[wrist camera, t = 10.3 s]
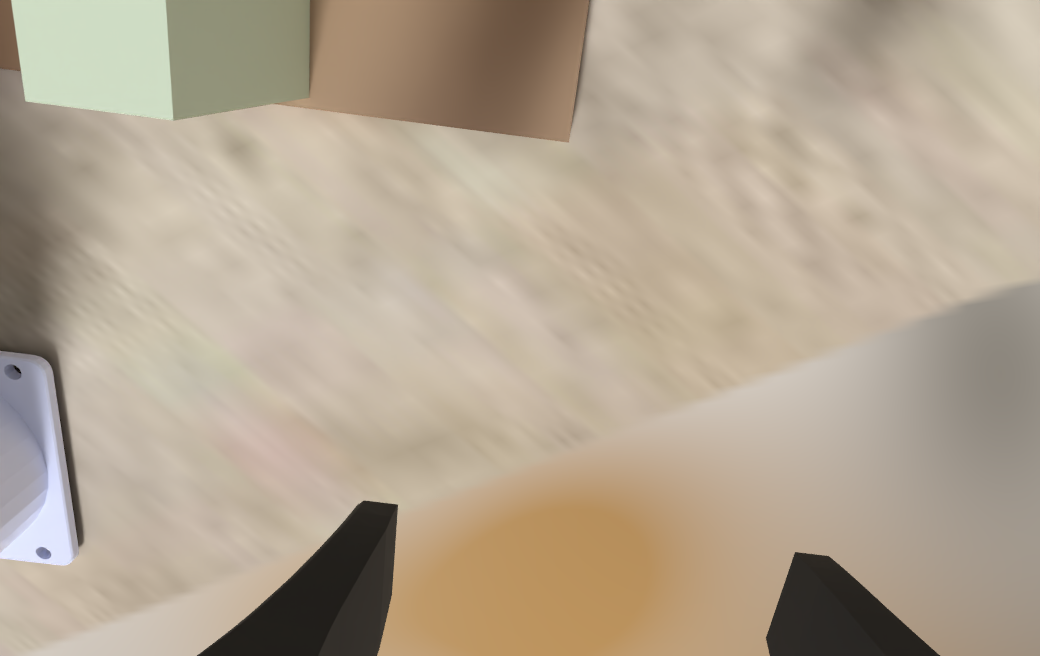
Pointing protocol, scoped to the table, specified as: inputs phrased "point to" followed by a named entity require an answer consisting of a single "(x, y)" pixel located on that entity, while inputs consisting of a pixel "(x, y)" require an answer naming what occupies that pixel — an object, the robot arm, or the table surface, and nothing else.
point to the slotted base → (435, 61)
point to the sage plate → (163, 54)
